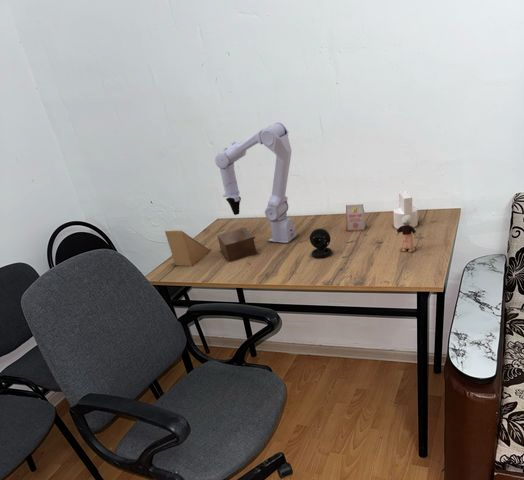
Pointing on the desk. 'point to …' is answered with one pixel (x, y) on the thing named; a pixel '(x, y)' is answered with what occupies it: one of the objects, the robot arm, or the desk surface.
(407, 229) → the grandmother figurine
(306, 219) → the desk surface
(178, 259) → the sandwich container
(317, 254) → the webcam
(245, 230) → the lid
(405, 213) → the cylinder with rectangular tab
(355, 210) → the grey printed box
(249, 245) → the walnut box
